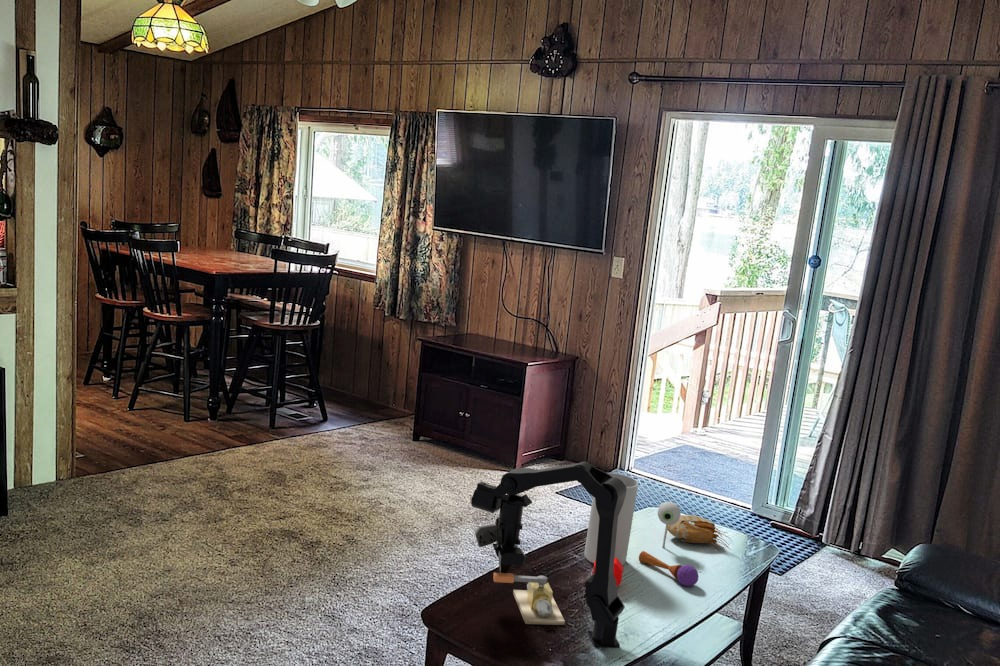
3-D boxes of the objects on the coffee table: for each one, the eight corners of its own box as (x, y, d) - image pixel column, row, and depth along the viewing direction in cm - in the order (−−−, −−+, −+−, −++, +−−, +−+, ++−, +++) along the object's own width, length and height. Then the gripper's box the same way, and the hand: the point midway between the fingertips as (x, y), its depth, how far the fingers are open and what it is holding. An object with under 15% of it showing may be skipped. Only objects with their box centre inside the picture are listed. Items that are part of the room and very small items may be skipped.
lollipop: (650, 548, 270) (658, 503, 268) (653, 540, 277) (660, 496, 275) (673, 554, 269) (681, 508, 266) (675, 546, 275) (683, 501, 273)
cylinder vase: (625, 571, 251) (638, 490, 247) (582, 563, 252) (594, 482, 249) (625, 555, 263) (638, 477, 259) (585, 547, 265) (596, 470, 261)
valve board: (564, 624, 214) (564, 621, 214) (525, 623, 212) (526, 620, 212) (549, 594, 230) (549, 591, 230) (513, 593, 228) (513, 589, 228)
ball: (620, 582, 244) (624, 556, 242) (619, 594, 236) (623, 568, 235) (592, 576, 245) (596, 551, 244) (590, 588, 237) (594, 562, 236)
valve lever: (545, 580, 222) (546, 575, 221) (547, 585, 219) (548, 579, 219) (492, 577, 219) (493, 571, 219) (494, 582, 217) (495, 576, 217)
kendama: (650, 547, 262) (704, 569, 247) (646, 566, 262) (700, 589, 246) (638, 546, 258) (692, 568, 243) (633, 566, 258) (687, 589, 243)
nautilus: (737, 550, 280) (716, 564, 268) (679, 524, 293) (657, 536, 281) (742, 528, 278) (722, 541, 266) (683, 503, 291) (661, 514, 279)
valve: (554, 620, 215) (557, 596, 214) (534, 620, 214) (538, 595, 213) (541, 594, 228) (544, 571, 227) (523, 593, 227) (526, 570, 226)
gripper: (473, 502, 225) (466, 558, 228) (484, 531, 207) (477, 591, 210) (515, 504, 227) (507, 559, 230) (529, 533, 209) (521, 593, 212)
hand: (502, 575), depth 220 cm, fingers closed
